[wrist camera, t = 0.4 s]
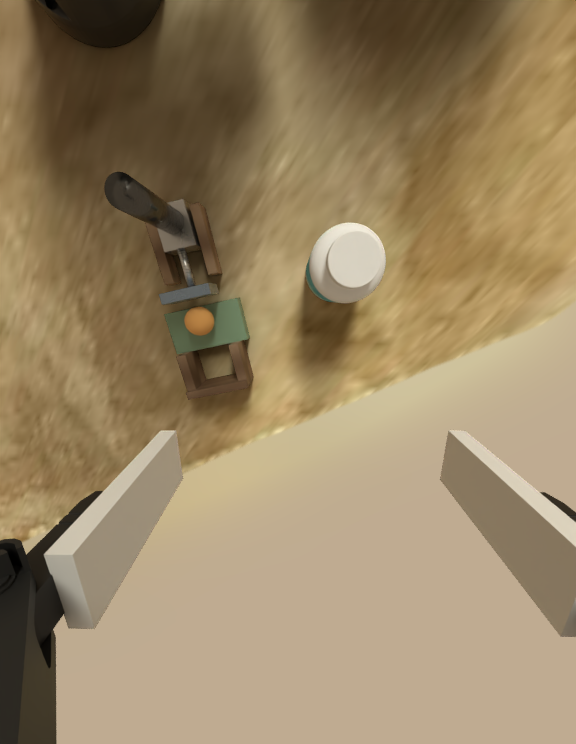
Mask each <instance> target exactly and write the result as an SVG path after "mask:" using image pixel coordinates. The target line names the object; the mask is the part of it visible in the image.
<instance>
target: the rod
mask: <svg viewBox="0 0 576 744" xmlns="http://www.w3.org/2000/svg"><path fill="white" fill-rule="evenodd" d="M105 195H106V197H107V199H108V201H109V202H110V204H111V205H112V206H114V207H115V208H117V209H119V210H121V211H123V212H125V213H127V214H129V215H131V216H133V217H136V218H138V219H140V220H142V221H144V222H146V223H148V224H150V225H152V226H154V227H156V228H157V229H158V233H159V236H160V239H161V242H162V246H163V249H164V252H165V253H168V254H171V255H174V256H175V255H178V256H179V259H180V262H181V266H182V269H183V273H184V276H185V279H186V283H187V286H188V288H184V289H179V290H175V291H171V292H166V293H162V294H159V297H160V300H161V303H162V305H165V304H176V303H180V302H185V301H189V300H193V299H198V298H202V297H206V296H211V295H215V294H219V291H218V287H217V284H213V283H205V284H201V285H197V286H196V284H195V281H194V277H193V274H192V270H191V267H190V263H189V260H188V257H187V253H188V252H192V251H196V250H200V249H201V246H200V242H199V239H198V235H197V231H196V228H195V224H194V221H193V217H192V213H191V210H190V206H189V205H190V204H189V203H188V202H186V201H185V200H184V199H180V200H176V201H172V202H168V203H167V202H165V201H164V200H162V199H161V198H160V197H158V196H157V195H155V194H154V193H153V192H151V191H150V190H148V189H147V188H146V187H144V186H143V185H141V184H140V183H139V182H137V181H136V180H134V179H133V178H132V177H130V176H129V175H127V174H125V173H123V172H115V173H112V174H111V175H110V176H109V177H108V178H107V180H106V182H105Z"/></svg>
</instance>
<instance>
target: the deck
mask: <svg viewBox="0 0 576 744" xmlns="http://www.w3.org/2000/svg"><path fill="white" fill-rule="evenodd" d="M199 307H204V308H206V309H208V310H209V311H210V312H211V313H212V315H213V317H214V327H213V329H212V330H211V331H210V332H209V333H208V334H206V335H202V336H199V335H195V334H192V333H191V332H190V331H189V330H188V329H187V328H186V326H185V321H184V319H185V315H186V313H187V312H188V311H189V310H190V309H186V310H182V311H177V312H173V313H169V314H164V315H165V319H166V322H167V325H168V328H169V331H170V334H171V337H172V340H173V343H174V346H175V349H176V352H177V354H181V353H186V352H191V351H195V350H200V349H205V348H209V347H214V346H219V345H223V344H228V343H233V342H237V341H242V340H247V339H248V338H249V337H250V336H249V332H248V328H247V324H246V320H245V316H244V312H243V308H242V304H241V300H240V298H235V299H230V300H226V301H222V302H217V303H213V304H208V305H204V306H199Z"/></svg>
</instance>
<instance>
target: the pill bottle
mask: <svg viewBox="0 0 576 744" xmlns="http://www.w3.org/2000/svg"><path fill="white" fill-rule="evenodd" d="M385 264H386V256H385V250H384V247H383V244H382V242H381V240H380V239H379V237H378V236H377V235H376V234H375V233H374V232H373V231H372V230H371V229H369V228H368V227H366V226H364V225H361V224H358V223H343V224H339V225H336V226H334V227H332V228H330V229H329V230H327V231H326V232H325V233H324V234H323V235H322V236H321V237H320V238H319V239H318V240H317V242H316V243H315V245H314V247H313V250H312V252H311V255H310V257H309V260H308V263H307V266H306V280H307V283H308V286H309V288H310V289H311V291H312V292H313V293H314V294H315V295H316V296H317V297H319V298H320V299H322V300H325V301H328V302H336V303H352V302H356V301H359V300H361V299H363V298H365V297H367V296H368V295H369V294H371V293H372V292H373V291H374V290H375V289H376V287H377V286H378V285H379V283H380V281H381V279H382V277H383V274H384V270H385Z"/></svg>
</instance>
